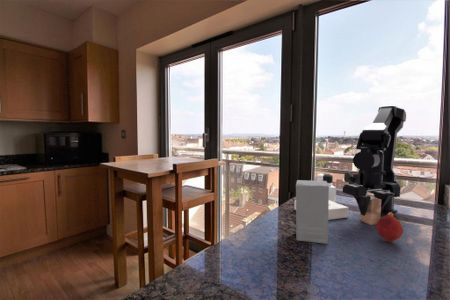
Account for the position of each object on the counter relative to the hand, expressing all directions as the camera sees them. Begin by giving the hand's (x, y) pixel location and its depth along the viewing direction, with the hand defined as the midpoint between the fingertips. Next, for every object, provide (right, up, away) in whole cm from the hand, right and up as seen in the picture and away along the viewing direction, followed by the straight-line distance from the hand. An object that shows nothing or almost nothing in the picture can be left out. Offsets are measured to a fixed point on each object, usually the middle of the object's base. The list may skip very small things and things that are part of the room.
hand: (370, 214), depth 78 cm
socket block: (-13, -2, +9) cm, 16 cm away
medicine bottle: (-5, -1, +24) cm, 24 cm away
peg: (0, -3, 0) cm, 3 cm away
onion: (-4, -4, -15) cm, 15 cm away
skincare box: (-24, -3, -13) cm, 28 cm away
